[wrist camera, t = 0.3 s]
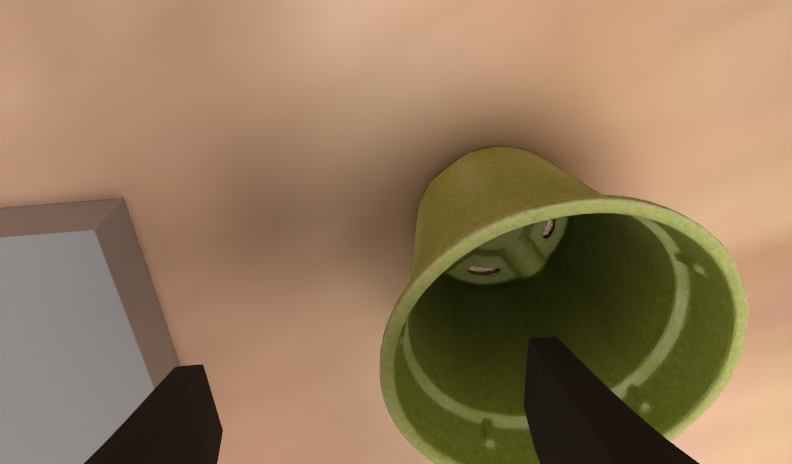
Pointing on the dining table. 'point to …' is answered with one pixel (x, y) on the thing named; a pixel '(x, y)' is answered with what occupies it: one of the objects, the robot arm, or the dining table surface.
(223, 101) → the dining table surface
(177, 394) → the robot arm
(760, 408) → the dining table surface
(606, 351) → the plant pot
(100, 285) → the slate plinth
